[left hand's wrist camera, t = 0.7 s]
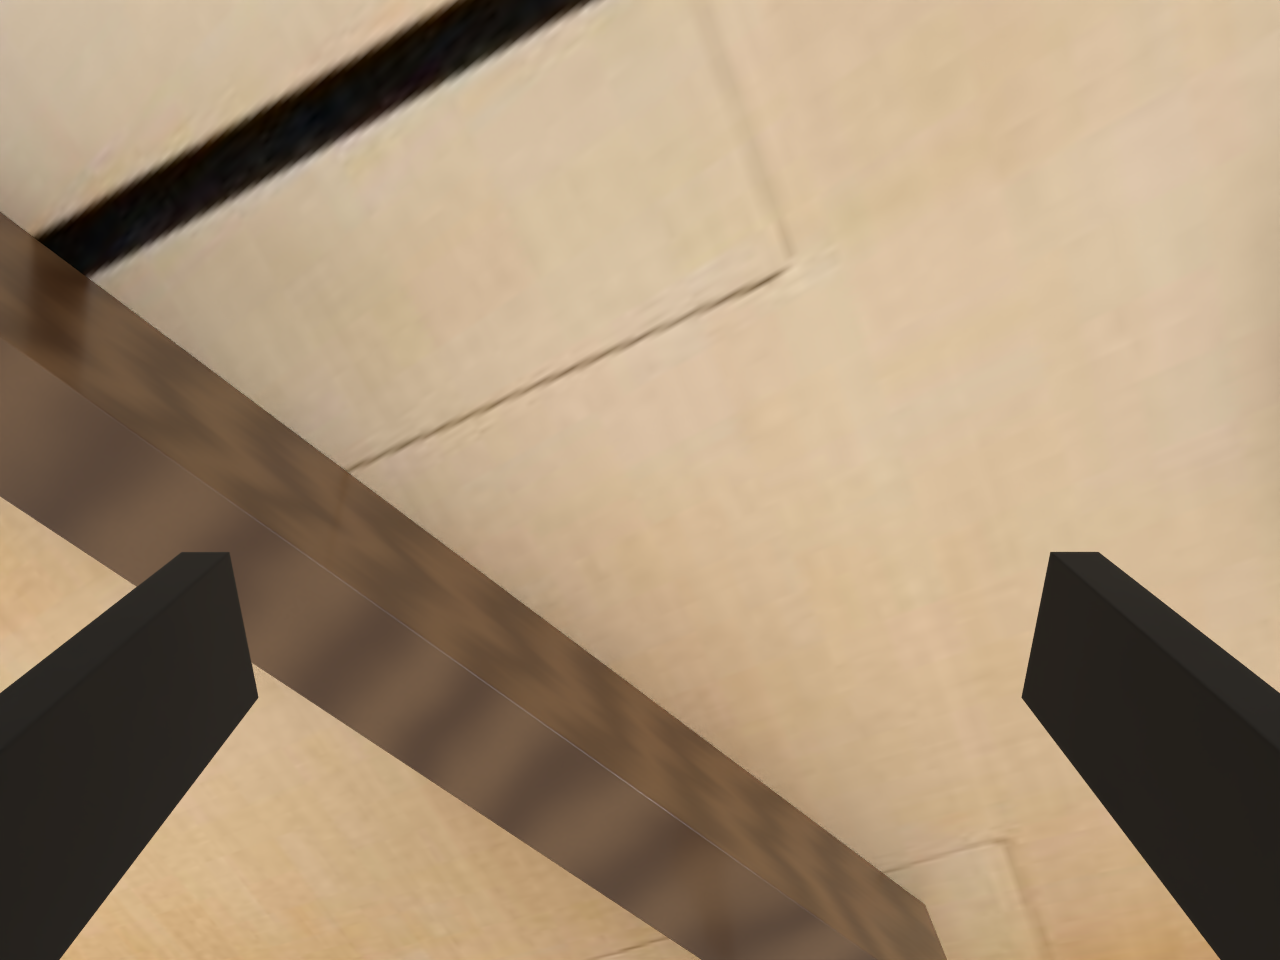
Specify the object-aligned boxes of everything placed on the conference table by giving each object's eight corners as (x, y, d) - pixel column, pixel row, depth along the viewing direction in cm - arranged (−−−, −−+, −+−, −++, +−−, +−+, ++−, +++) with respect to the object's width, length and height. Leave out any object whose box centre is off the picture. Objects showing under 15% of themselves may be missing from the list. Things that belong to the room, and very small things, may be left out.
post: (-403, 69, 33) (-702, 34, 26) (-356, -55, 31) (-659, -131, 24) (855, 956, 50) (892, 1086, 43) (925, 904, 49) (975, 1029, 42)
